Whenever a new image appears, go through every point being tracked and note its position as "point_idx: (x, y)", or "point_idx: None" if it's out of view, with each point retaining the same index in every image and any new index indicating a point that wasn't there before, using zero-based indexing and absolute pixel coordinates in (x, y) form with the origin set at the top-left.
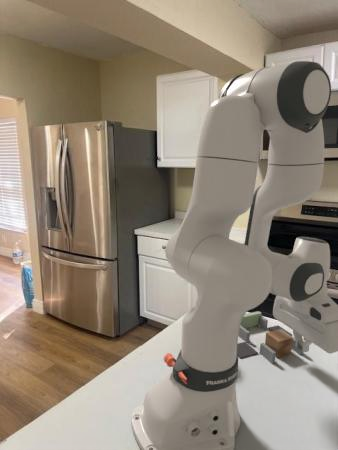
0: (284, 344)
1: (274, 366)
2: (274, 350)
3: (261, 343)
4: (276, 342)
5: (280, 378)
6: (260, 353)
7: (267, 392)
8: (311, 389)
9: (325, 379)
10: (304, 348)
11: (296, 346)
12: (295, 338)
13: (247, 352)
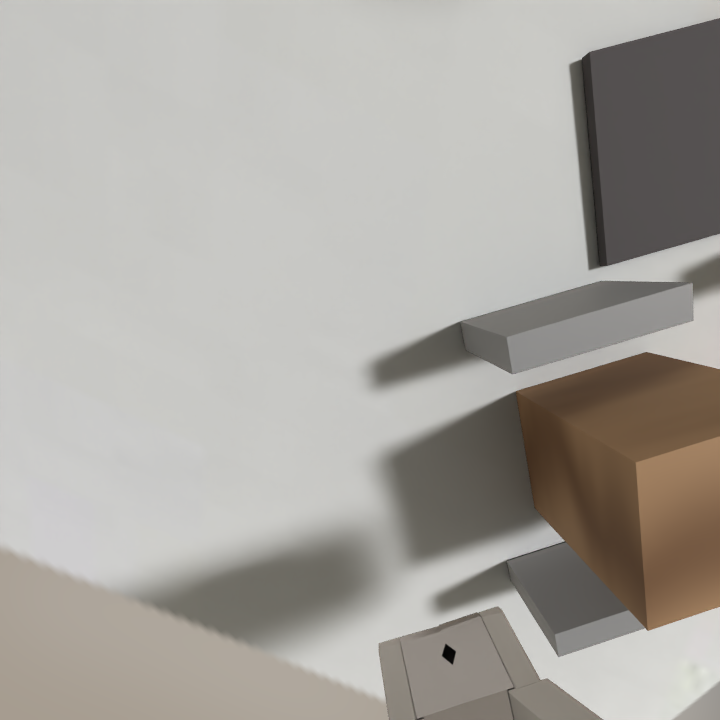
0: (597, 508)
1: (423, 325)
2: (577, 397)
3: (690, 294)
4: (638, 440)
5: (274, 304)
6: (595, 284)
7: (94, 94)
8: (138, 471)
9: (241, 599)
10: (386, 697)
11: (486, 613)
12: (570, 712)
13: (638, 166)
